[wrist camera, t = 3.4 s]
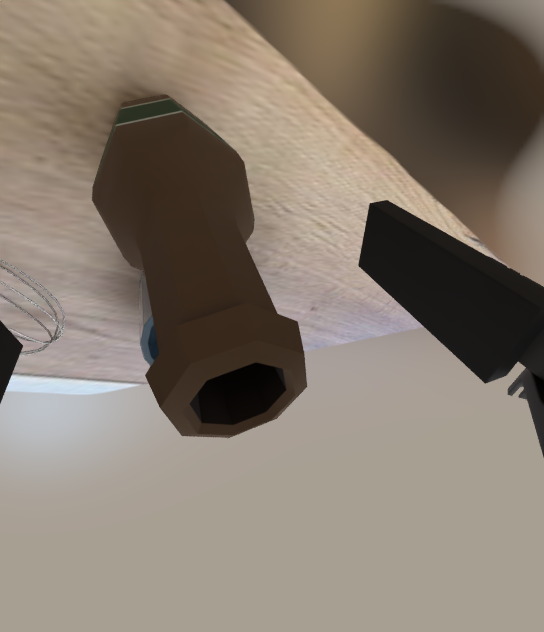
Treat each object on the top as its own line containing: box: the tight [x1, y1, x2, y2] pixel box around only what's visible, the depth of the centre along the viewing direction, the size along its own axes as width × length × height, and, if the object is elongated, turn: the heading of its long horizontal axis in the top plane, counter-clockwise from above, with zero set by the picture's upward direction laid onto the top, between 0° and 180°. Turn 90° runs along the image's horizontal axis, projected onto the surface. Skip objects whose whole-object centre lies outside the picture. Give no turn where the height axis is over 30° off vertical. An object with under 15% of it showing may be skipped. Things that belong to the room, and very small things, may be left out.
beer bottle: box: [92, 95, 307, 438], centre depth 15 cm, size 8×8×24 cm
